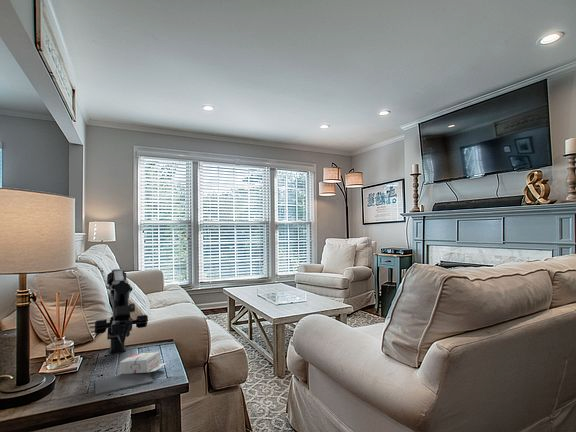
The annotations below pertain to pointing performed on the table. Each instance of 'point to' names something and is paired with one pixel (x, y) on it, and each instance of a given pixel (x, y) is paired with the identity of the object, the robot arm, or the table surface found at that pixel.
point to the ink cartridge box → (141, 363)
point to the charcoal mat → (121, 382)
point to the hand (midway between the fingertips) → (122, 343)
